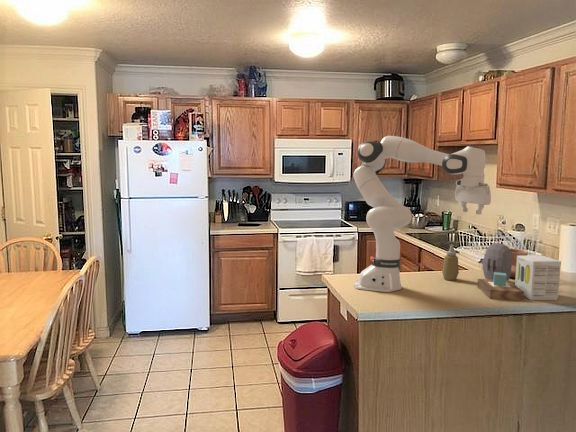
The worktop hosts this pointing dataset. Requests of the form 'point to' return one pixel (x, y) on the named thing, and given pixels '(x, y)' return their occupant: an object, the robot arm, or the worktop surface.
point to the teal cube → (499, 279)
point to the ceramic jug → (514, 259)
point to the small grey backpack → (497, 260)
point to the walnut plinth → (500, 290)
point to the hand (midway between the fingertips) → (471, 213)
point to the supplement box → (538, 277)
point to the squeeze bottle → (450, 265)
